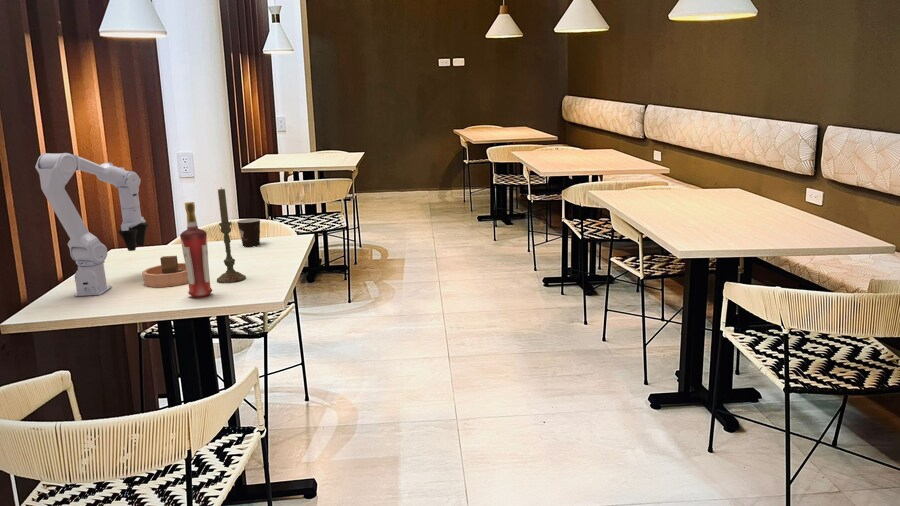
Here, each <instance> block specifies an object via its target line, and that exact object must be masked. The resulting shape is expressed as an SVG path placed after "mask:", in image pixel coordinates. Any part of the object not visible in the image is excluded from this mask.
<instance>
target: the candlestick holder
mask: <svg viewBox="0 0 900 506" xmlns="http://www.w3.org/2000/svg"><path fill="white" fill-rule="evenodd" d="M217 195H218V204H219V205H218V206H219V214H220V221H221V222H219V223H218V226H219V227H220V232H221V233H222V234H223V243H224V247H225V252H226V257H225V258H224V260H223V263H224V266H225V267H226V271H225V272H224V273H222V274H221V275H220V276H219V277H217V278H216V281H217V283H220V284H231V283H232V284H233V283H239V282H242V281H244V280H246V279H247V277H246V274H243V273H241V272H239V271H236V270H235V269H234V265H235V263H236V259H235V258H233V256H232V254H231V251H232V250H231V249H232V248H231V237H230V235H229V234H230V233H231V232H232V228H231V225H232V222H231V221H229V215H228V206H227V198H226V197H227V196H226V189H225V188H222V187H220V189H219V188H218V189H217Z"/></svg>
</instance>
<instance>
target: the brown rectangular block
mask: <svg viewBox="0 0 900 506" xmlns="http://www.w3.org/2000/svg"><path fill="white" fill-rule="evenodd" d="M159 260H160V265H161V267H162V274H164V273H177V272H179V269H178V263H179V262H178V261H179V260H178V256H177V255H166V256H165V255H164V256H163V255H162V256H161V257H160V258H159Z"/></svg>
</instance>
